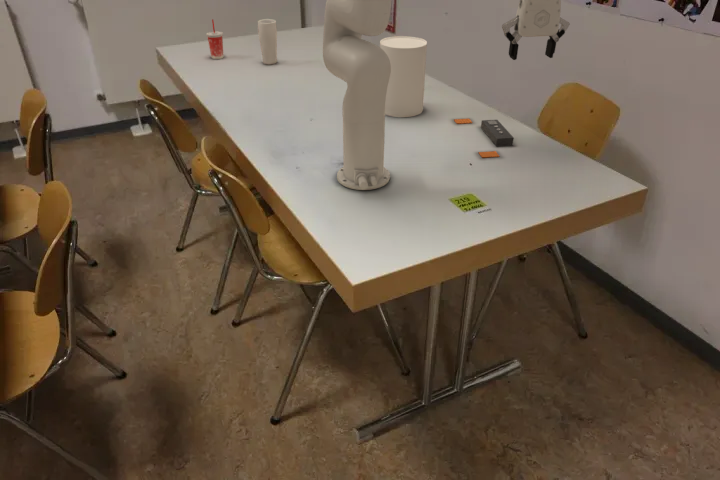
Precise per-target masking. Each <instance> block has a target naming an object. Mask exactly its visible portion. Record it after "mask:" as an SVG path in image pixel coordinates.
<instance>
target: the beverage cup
mask: <svg viewBox="0 0 720 480" xmlns="http://www.w3.org/2000/svg"><path fill="white" fill-rule="evenodd" d="M214 21H215V20H214V19H213V18H212V19H211V22H212V31H209V32H206V34H205V35H206V37H207V43H208V47H209V52H210V57H211V59H212V60H221V59H224V55H225V54H224V41H223V40H224V39H223V36H224V33H223V32H222V31H216V29H215V22H214Z"/></svg>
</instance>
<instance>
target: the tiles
mask: <svg viewBox="0 0 720 480" xmlns="http://www.w3.org/2000/svg"><path fill="white" fill-rule="evenodd" d="M453 121H454V122H455V124H456V125H464V124H473V121H472V120H471V119H470V118H455V119H453ZM478 154H479V156H480V157H481V158H482V159H491V158H500V155H499V154H498V152H497V151H496V150H492V151H479V152H478Z"/></svg>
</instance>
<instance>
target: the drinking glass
mask: <svg viewBox="0 0 720 480" xmlns="http://www.w3.org/2000/svg"><path fill="white" fill-rule="evenodd" d="M277 28H278V27H277V20H276V19H271V18H263V19H259V20H257V34H258V39H259V45H260V50H261V58H262V63H263V64H264V65H275V64H278V63H277V62H278V29H277Z"/></svg>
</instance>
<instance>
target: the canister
mask: <svg viewBox="0 0 720 480" xmlns="http://www.w3.org/2000/svg"><path fill="white" fill-rule="evenodd" d="M379 47H380V48H381V49H382V50H384V52H385V53H386V54H387V56H388V58H389V60H390V64H391V73H390V78H389V83H388V87H387V93H386V102H385V116H388V117H394V118H410V117H416V116H418V115H421V114H422V113H423V112H424V100H425V99H424V97H425V83H426V69H427V68H426V67H427V50H428V41H427V40H425V39H423V38H421V37H417V36H409V35H407V36H406V35H396V36H394V35H393V36H387V37H384V38H382V39H380V41H379Z"/></svg>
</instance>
